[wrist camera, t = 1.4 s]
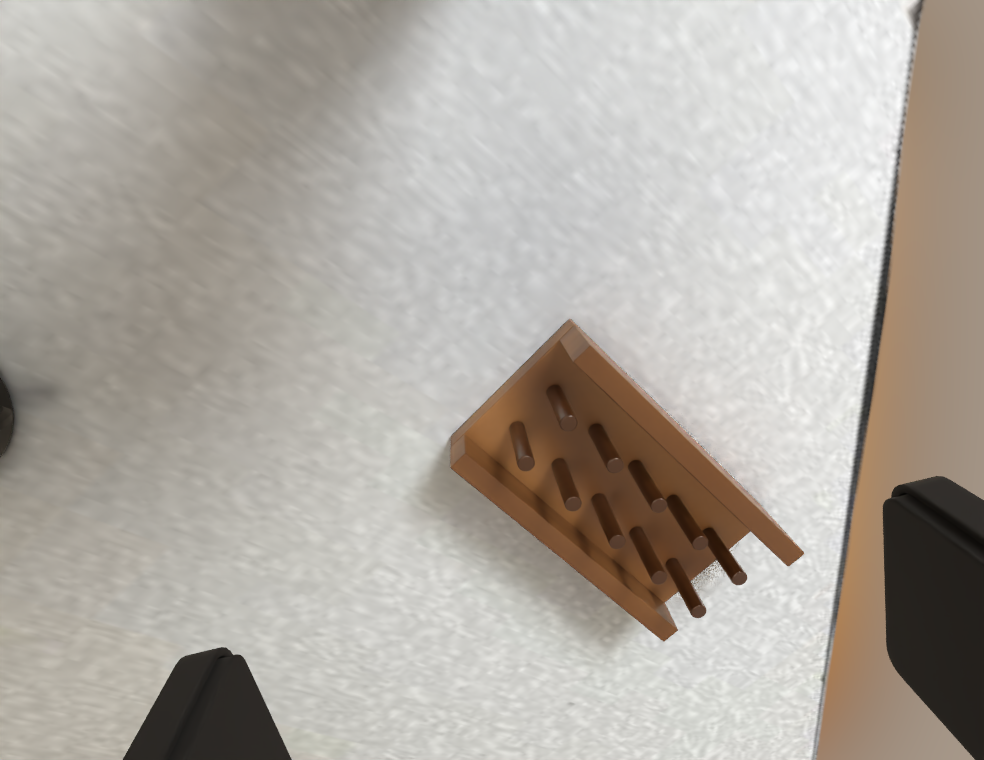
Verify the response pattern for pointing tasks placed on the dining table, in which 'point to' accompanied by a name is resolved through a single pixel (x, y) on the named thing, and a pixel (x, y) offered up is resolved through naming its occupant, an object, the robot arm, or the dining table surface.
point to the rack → (609, 480)
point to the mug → (5, 418)
